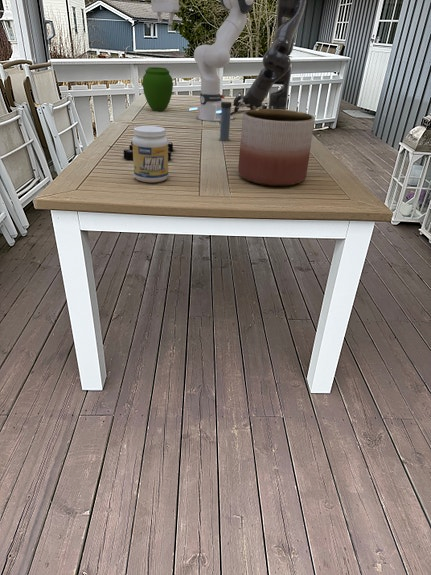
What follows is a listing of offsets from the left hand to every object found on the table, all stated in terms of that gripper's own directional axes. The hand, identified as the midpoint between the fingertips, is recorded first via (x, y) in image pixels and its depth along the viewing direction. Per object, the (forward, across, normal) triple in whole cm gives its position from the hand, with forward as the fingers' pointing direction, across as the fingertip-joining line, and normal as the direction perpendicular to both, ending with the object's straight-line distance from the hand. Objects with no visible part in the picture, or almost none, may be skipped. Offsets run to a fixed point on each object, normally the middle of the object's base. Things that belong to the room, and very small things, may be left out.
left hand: (165, 23), depth 208 cm
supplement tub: (+48, -83, +60) cm, 114 cm away
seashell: (+48, -3, -68) cm, 83 cm away
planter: (+48, -105, +21) cm, 117 cm away
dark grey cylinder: (+48, -48, -3) cm, 68 cm away
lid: (+31, -48, -3) cm, 57 cm away
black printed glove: (+48, -51, +41) cm, 81 cm away
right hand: (+34, -63, -1) cm, 72 cm away
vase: (+48, +38, -18) cm, 64 cm away
